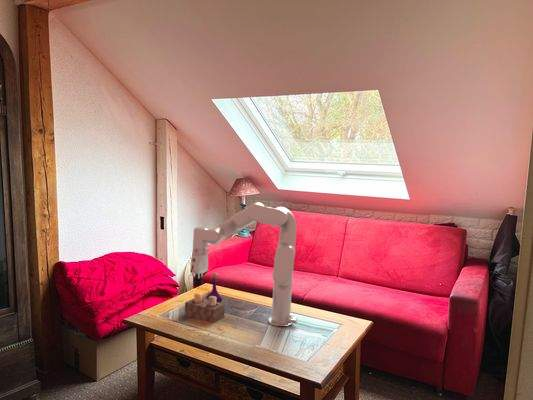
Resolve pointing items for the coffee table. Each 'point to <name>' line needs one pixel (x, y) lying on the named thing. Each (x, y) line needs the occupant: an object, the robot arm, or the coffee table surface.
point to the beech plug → (212, 301)
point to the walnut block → (204, 310)
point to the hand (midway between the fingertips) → (197, 285)
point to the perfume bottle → (214, 289)
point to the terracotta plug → (198, 298)
